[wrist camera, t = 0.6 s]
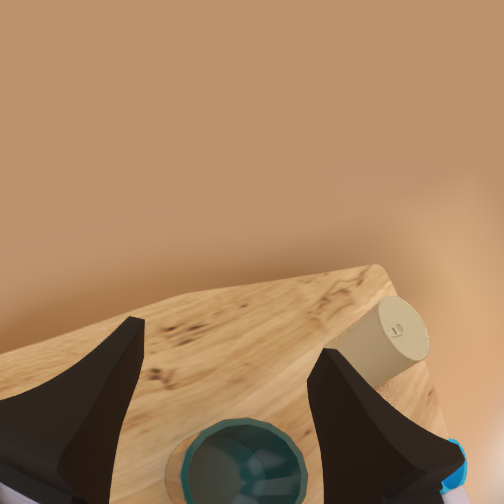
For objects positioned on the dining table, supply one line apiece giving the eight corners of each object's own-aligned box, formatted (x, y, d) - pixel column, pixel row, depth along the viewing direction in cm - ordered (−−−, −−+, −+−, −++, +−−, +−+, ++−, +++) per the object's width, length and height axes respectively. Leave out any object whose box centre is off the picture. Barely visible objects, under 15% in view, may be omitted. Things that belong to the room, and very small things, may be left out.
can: (308, 349, 37) (368, 297, 29) (351, 334, 42) (405, 287, 35) (339, 409, 32) (411, 369, 24) (378, 385, 37) (441, 345, 30)
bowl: (234, 541, 17) (270, 554, 12) (142, 485, 18) (151, 489, 14) (284, 466, 24) (325, 458, 20) (205, 412, 26) (230, 394, 21)
